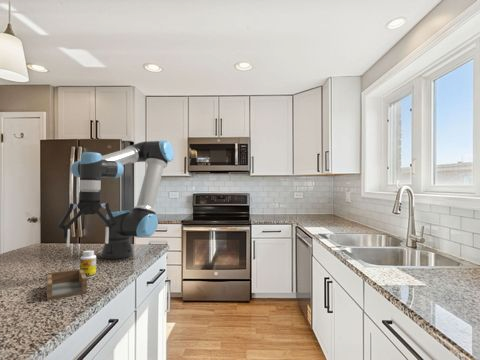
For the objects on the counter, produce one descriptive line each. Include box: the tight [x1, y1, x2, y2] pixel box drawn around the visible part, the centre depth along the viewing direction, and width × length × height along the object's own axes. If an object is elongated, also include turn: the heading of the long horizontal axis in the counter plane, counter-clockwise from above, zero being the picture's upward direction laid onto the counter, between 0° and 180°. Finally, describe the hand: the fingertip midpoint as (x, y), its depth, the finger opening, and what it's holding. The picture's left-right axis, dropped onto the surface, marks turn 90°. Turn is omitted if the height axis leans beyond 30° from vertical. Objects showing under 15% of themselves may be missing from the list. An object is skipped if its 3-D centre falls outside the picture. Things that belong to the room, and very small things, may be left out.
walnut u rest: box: [46, 268, 88, 301], centre depth 96 cm, size 14×11×5 cm
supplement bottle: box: [79, 249, 97, 279], centre depth 111 cm, size 6×6×10 cm
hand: (88, 244), depth 111 cm, fingers open, 13 cm apart
